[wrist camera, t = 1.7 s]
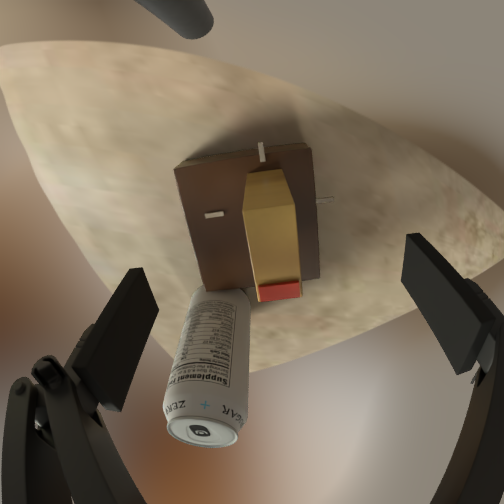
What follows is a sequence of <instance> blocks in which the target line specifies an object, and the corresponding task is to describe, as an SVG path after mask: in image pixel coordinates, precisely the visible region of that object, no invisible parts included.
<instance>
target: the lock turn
mask: <svg viewBox="0 0 504 504" xmlns="http://www.w3.org/2000/svg"><path fill="white" fill-rule="evenodd" d="M242 213H243V218H244V224H245V230H246V235H247V241H248V247H249V252H250V258H251V263H252V269H253V275H254V280H255V286H256V291H257V297H258V301H259V302H264V301H273V300H281V299H289V298H297V297H302V281H301V267H300V254H299V243H298V231H297V221H296V210H295V203H294V201H293V198H292V195H291V192H290V189H289V187H288V184H287V181H286V179H285V176H284V173H283V171H282V169H277V170H269V171H262V172H254V173H248V174H247V179H246V187H245V194H244V202H243V209H242Z"/></svg>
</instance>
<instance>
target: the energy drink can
mask: <svg viewBox="0 0 504 504" xmlns="http://www.w3.org/2000/svg"><path fill="white" fill-rule="evenodd" d="M250 314H251V306H250V301H249V299H248V297H247V295H246V294H245V293H244V292H243V291H242V290H241V289H239V288H238V289H229V290H219V291H209V292H206V291H205V288H204V285H202V286H201V287H199V288H198V289H197V290H196V291H195V292H194V294H193V295H192V298H191V301H190V305H189V308H188V312H187V315H186V319H185V322H184V326H183V329H182V333H181V337H180V340H179V344H178V348H177V351H176V355H175V359H174V363H173V366H172V370H171V374H170V378H169V382H168V386H167V390H166V394H165V398H164V402H163V410H164V413H165V416H166V418H167V421H168V424H167V430H168V432H169V434H171V435H172V436H173V437H174V438H176V439H178V440H180V441H182V442H184V443H187V444H190V445H194V446H199V447H208V448H218V447H225V446H229V445H231V444H233V443H235V442H236V441H237V439H238V432H239V431H240V429H241V428H242V427H243V426H244V424H245V423H246V421H247V418H248V385H249V384H248V383H249V349H250Z"/></svg>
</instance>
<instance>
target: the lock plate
mask: <svg viewBox="0 0 504 504" xmlns="http://www.w3.org/2000/svg"><path fill="white" fill-rule="evenodd" d="M277 169H282V171H283V173H284V176H285V179H286V181H287V184H288V187H289V189H290V192H291V195H292V198H293V201H294V203H295V210H296V221H297V231H298V243H299V254H300V267H301V281H305V280H312V279H319V278H320V264H319V241H318V223H317V208H316V204H319V203H328V202H334V197H327V198H318V199H316V194H315V182H314V171H313V160H312V150H311V148H310V147H309V146H308V145H307V144H305V143H297V144H288V145H279V146H271V147H264V146H263V142H258V148H256V149H249V150H242V151H236V152H230V153H224V154H218V155H212V156H207V157H201V158H196V159H191V160H186V161H183V162H181V163H180V164H179V165H178V166H177V167H175V168H174V169H173V170H174V174H175V179H176V183H177V187H178V191H179V195H180V199H181V203H182V207H183V211H184V215H185V219H186V223H187V227H188V231H189V235H190V238H191V242H192V246H193V249H194V253H195V257H196V260H197V264H198V267H199V271H200V274H201V278H202V281H203V285H204V288H205V291H206V292H209V291H219V290H229V289H238V288H247V287H256V286H255V280H254V275H253V269H252V263H251V258H250V252H249V247H248V241H247V235H246V230H245V224H244V218H243V213H242V209H243V202H244V194H245V187H246V179H247V174H248V173H254V172H262V171H269V170H277Z"/></svg>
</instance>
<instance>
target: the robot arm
mask: <svg viewBox="0 0 504 504" xmlns="http://www.w3.org/2000/svg"><path fill="white" fill-rule="evenodd" d="M401 282H402V283H403V285H404V286H405V288H406V289H407V291H408V293H409V294H410V296H411V297H412V299H413V300H414V302H415V303H416V305H417V307H418V308H419V310H420V311H421V313H422V315H423V316H424V318H425V319H426V321H427V323H428V324H429V326H430V328H431V329H432V331H433V333H434V335H435V336H436V338H437V340H438V341H439V343H440V345H441V347H442V349H443V350H444V352H445V354H446V356H447V358H448V360H449V361H450V363H451V365H452V367H453V369H454V371H455V373H456V375H459V374H461V373H464V372H467V371H469V370H471V369H472V367H473V365H474V363H475V362H476V360H477V361H478V363H479V364H480V367H479V369H478V371H477V372H476V374H475V376H474V377H473V379H472V381H471V384H473V382H474V381H475V385H474V388H473V393H472V396H471V401H470V404H469V408H468V411H467V414H466V418H465V421H464V424H463V427H462V430H461V433H460V436H459V439H458V442H457V444H456V447H455V450H454V452H453V455H452V458H451V460H450V462H449V465H448V467H447V469H446V472H445V474H444V476H443V478H442V480H441V483H440V485H439V487H438V489H437V491H436V493H435V495H434V497H433V499H432V501H431V502H430V504H499V503H500V500H501V498H502V495H503V492H504V315H503V314H502V313H501V312H500V310H499V309H498V308H497V307H496V305H495V304H494V303H493V302H492V301H491V300H490V299H489V298H488V296H487V295H486V294H485V293H483V290H482V289H481V288H480V287H479V286H478V285H477V284H476V283H475V282H473V281H472V280H470V279H468V278H466V279H463V278H462V276H461V275H460V274H459V273H458V272H457V271H456V270H455V269H454V268H453V267H452V266H451V264H450V263H449V262H448V261H447V260H446V259H445V258H444V257H443V256H442V255H441V254H440V253H439V252H438V251H437V250H436V249H435V248H434V247H433V246H432V245H431V244H430V243H429V242H428V241H427V240H426V239H425V238H424V237H423V236H422V235H421V234H420V233H412V234H406V244H405V253H404V261H403V269H402V276H401ZM158 312H159V308H158V306H157V304H156V301H155V299H154V296H153V294H152V291H151V289H150V286H149V283H148V281H147V278H146V276H145V273H144V270H143V268H142V267H141V268H132V269H129V271H128V272H127V274H126V275H125V277H124V278H123V280H122V281H121V283H120V284H119V286H118V287H117V289H116V290H115V292H114V294H113V295H112V297H111V298H110V300H109V302H108V303H107V305H106V306H105V308H104V310H103V311H102V313H101V315H100V316H99V318H98V320H97V321H96V323H95V324H91V325H90V326H89V327H88V328H87V329H86V330H85V331H84V333H83V335H82V336H81V338H80V341H78V343H77V345H76V348H74V350H73V352H72V353H71V355H70V357H69V359H68V360H67V362H66V364H65V366H64V368H63V367H62V366H61V364H60V363H59V362H58V361H57V359H56V358H55V357H54V356H52V355H47V356H44V357H42V358H41V359H39V360H38V361H37V362H36V363H35V364H34V366H33V368H32V372H31V374H32V375H33V377H34V378H35V379H36V380H37V382H38V383H39V384H35V385H34V384H33V383H32V382H31V380H30V379H29V378H27V377H21V378H19V379H17V380H16V381H15V382H14V383H13V385H12V386H11V389H10V394H9V399H8V405H7V411H6V418H5V427H4V437H3V448H2V450H3V451H2V475H1V476H2V504H72V498H73V501H74V503H75V504H147V503H146V502H145V500H144V498H143V497H142V495H141V493H140V492H139V490H138V488H137V487H136V485H135V483H134V481H133V480H132V478H131V476H130V474H129V473H128V471H127V469H126V467H125V465H124V463H123V461H122V459H121V457H120V455H119V453H118V451H117V449H116V447H115V445H114V443H113V441H112V439H111V437H110V434H109V432H108V430H107V428H106V425H105V423H104V421H103V418H102V416H101V413H100V412H99V411H98V409H97V406H98V403H99V402H100V403H101V405H102V406H103V407H104V408H105V409H106V410H111V411H117V412H121V411H122V408H123V405H124V402H125V399H126V396H127V393H128V390H129V387H130V385H131V382H132V379H133V376H134V374H135V371H136V368H137V365H138V363H139V360H140V357H141V355H142V352H143V349H144V347H145V344H146V342H147V339H148V337H149V334H150V332H151V329H152V327H153V324H154V322H155V319H156V317H157V314H158ZM35 422H36V423H37V424H38V429H36V428H35ZM71 496H72V498H71Z"/></svg>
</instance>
